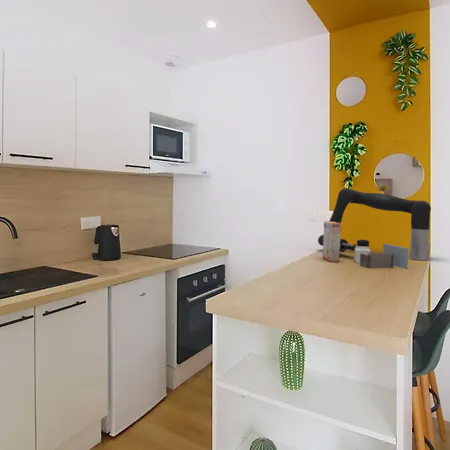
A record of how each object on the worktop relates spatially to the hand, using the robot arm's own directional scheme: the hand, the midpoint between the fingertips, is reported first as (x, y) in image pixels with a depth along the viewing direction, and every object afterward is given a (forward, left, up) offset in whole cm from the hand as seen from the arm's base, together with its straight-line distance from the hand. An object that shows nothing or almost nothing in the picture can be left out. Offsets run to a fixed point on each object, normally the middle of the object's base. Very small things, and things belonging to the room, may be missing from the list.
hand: (354, 248), depth 210 cm
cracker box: (+14, 0, -6) cm, 15 cm away
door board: (-12, +19, -6) cm, 23 cm away
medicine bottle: (0, +8, -6) cm, 10 cm away
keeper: (0, +21, -6) cm, 22 cm away
